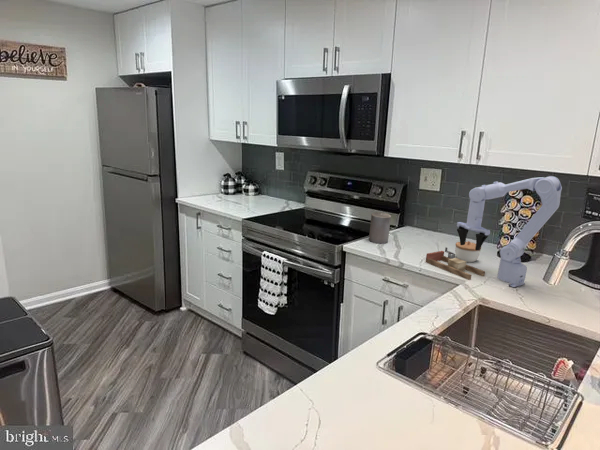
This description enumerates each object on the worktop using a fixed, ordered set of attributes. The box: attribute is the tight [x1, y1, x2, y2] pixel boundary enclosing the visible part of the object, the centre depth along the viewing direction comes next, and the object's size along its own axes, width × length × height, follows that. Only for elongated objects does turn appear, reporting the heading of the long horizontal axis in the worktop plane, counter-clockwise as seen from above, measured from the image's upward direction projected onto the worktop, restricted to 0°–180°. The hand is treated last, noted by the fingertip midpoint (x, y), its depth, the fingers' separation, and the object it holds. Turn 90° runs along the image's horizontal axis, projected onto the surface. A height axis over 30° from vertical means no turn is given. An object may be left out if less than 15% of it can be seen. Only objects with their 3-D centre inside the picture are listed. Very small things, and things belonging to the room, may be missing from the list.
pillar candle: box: [368, 212, 392, 245], centre depth 215 cm, size 10×10×15 cm
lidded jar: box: [454, 240, 482, 263], centre depth 192 cm, size 11×11×9 cm
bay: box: [425, 250, 486, 281], centre depth 180 cm, size 22×10×5 cm, turn 33°
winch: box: [444, 247, 456, 259], centre depth 191 cm, size 5×3×6 cm, turn 33°
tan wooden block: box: [447, 257, 468, 272], centre depth 179 cm, size 5×5×4 cm
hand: (469, 247), depth 181 cm, fingers open, 7 cm apart
